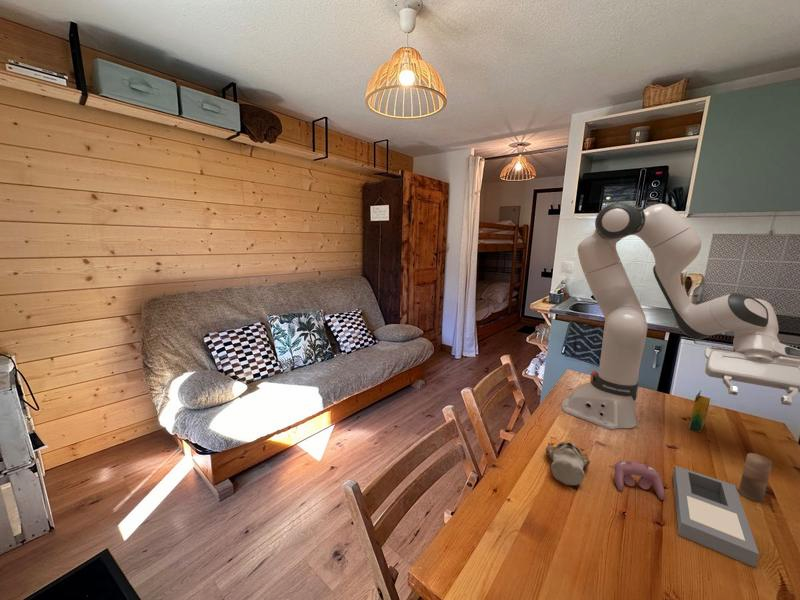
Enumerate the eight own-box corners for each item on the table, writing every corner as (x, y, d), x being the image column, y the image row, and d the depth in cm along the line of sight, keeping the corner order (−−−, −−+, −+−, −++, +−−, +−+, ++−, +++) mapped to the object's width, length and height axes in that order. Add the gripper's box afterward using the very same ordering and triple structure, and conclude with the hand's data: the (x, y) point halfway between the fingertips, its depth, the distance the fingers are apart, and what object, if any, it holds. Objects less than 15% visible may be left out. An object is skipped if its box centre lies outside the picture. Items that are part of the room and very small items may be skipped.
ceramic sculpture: (545, 450, 80) (548, 424, 93) (541, 482, 81) (545, 452, 94) (596, 464, 75) (591, 435, 88) (591, 499, 76) (587, 464, 89)
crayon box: (700, 433, 104) (707, 399, 102) (688, 429, 106) (694, 395, 104) (705, 425, 109) (711, 392, 107) (693, 421, 111) (699, 389, 109)
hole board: (678, 535, 67) (681, 521, 67) (673, 475, 84) (675, 464, 84) (755, 567, 61) (759, 553, 60) (732, 496, 78) (735, 484, 77)
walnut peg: (740, 496, 78) (749, 459, 76) (737, 487, 81) (745, 450, 79) (764, 505, 75) (774, 466, 74) (760, 494, 79) (769, 457, 77)
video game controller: (658, 497, 79) (657, 465, 81) (667, 502, 75) (665, 469, 77) (611, 486, 82) (611, 456, 84) (617, 490, 78) (617, 459, 80)
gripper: (707, 339, 94) (706, 383, 87) (818, 353, 81) (826, 405, 75) (702, 350, 98) (701, 392, 92) (808, 365, 86) (815, 415, 79)
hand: (759, 398), depth 83 cm, fingers open, 8 cm apart
